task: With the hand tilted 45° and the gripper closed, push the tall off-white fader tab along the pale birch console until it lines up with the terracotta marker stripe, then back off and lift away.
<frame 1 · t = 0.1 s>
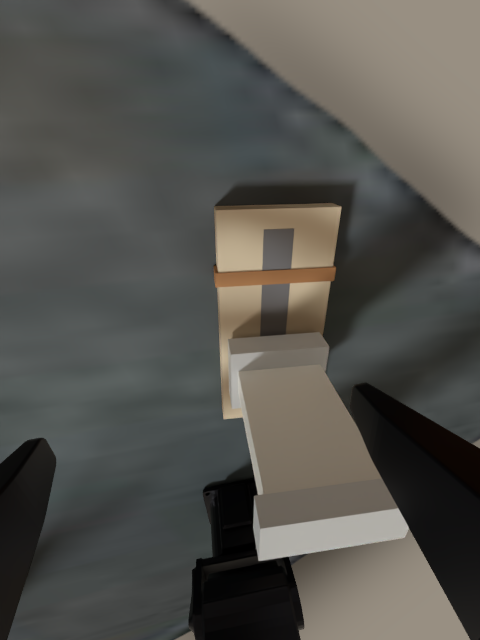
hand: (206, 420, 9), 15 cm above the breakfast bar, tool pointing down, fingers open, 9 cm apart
fader tab: (296, 423, 19), point 8 cm above the breakfast bar, slide at 0.0 cm
fader console: (269, 320, 25), on the breakfast bar
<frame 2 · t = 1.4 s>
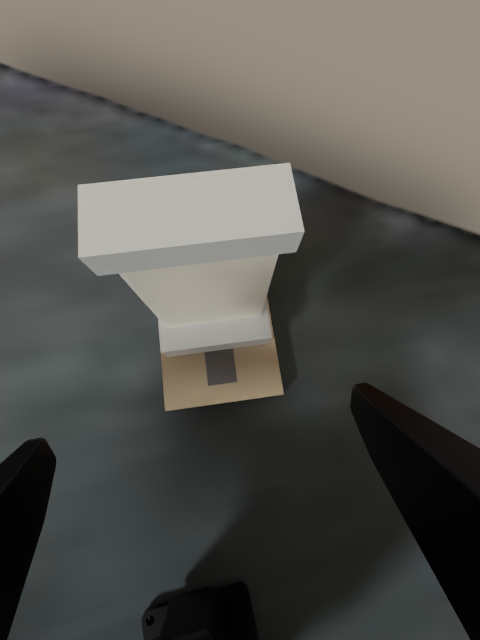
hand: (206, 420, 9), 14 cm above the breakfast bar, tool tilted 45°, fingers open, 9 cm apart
fader tab: (206, 282, 16), point 8 cm above the breakfast bar, slide at 0.0 cm
fader console: (211, 288, 25), on the breakfast bar
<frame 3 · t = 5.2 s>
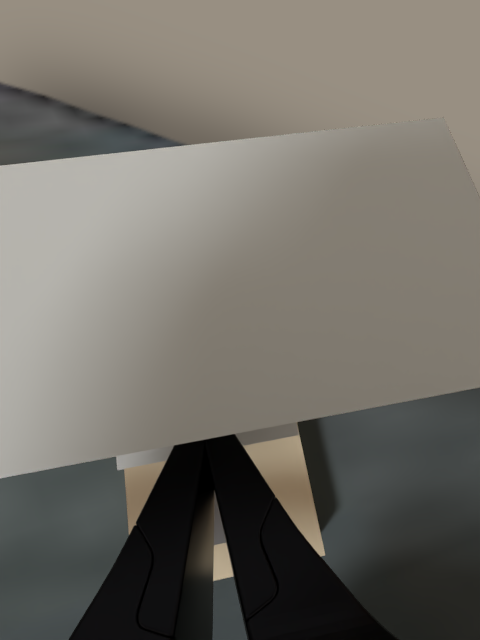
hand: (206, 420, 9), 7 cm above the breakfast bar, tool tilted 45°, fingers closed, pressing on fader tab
fader tab: (188, 374, 9), point 8 cm above the breakfast bar, slide at 1.6 cm, touching gripper
fader console: (204, 370, 17), on the breakfast bar
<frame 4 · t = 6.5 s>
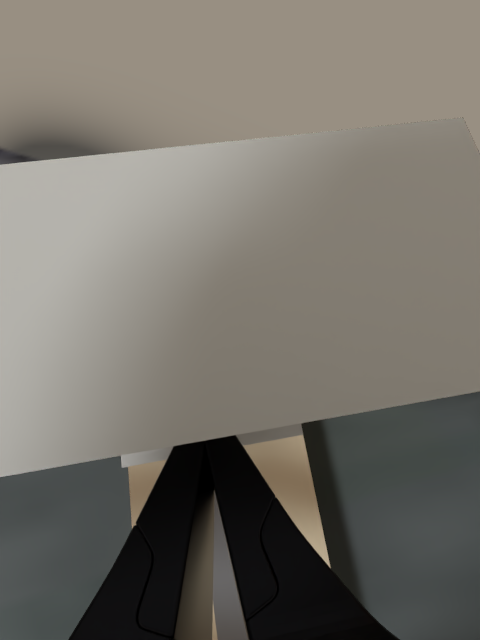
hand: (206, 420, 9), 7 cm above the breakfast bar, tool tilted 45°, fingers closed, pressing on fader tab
fader tab: (195, 372, 9), point 8 cm above the breakfast bar, slide at 7.6 cm, touching gripper
fader console: (224, 491, 15), on the breakfast bar
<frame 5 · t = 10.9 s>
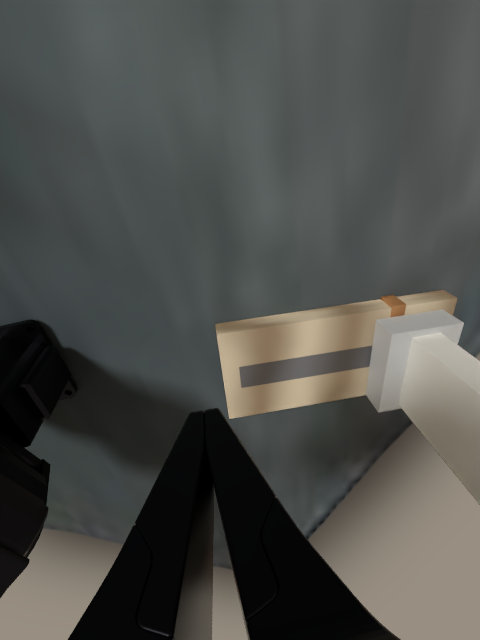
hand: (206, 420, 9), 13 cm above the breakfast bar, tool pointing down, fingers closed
fader tab: (464, 415, 19), point 8 cm above the breakfast bar, slide at 7.7 cm
fader console: (329, 350, 25), on the breakfast bar
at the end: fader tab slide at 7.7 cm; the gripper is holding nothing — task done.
